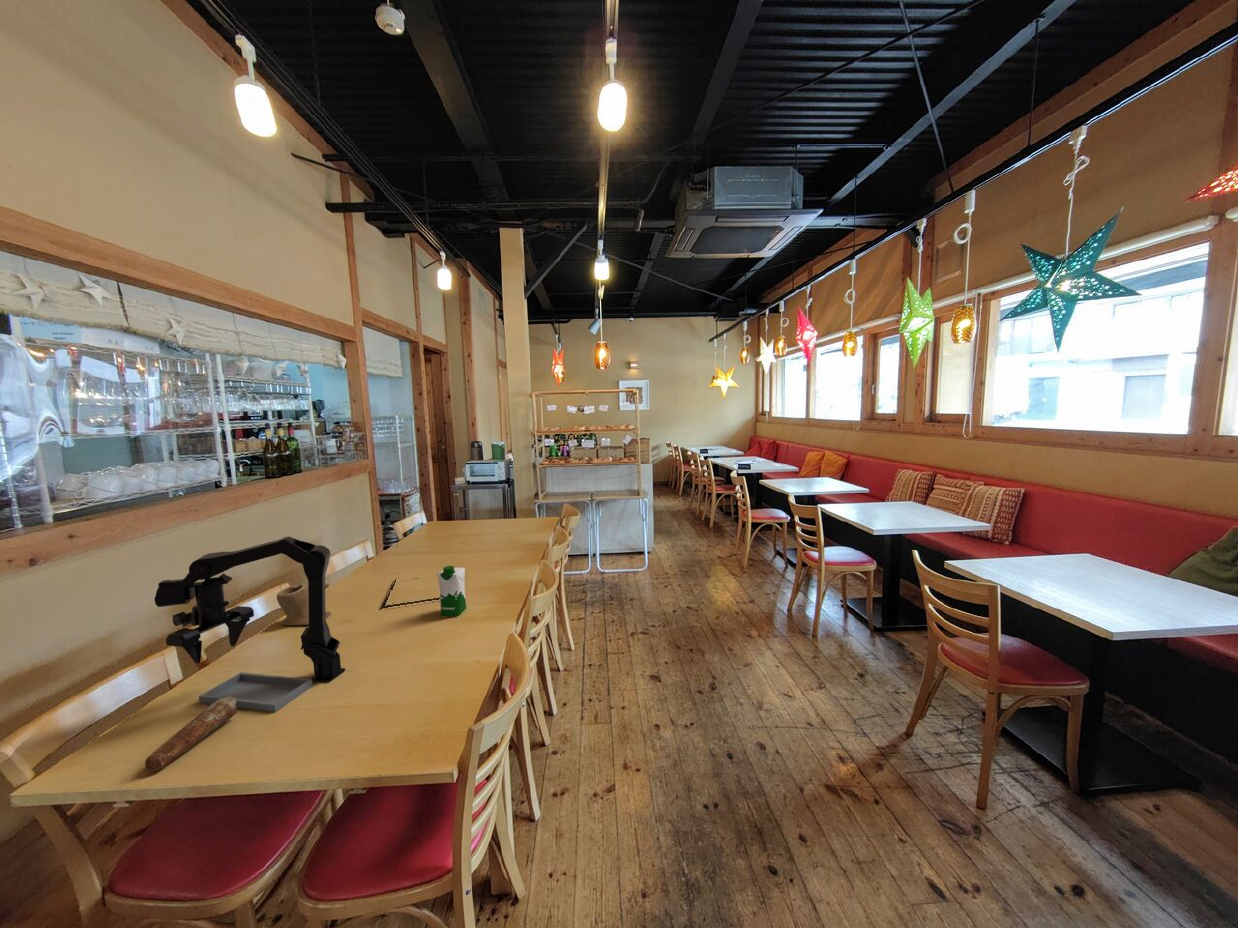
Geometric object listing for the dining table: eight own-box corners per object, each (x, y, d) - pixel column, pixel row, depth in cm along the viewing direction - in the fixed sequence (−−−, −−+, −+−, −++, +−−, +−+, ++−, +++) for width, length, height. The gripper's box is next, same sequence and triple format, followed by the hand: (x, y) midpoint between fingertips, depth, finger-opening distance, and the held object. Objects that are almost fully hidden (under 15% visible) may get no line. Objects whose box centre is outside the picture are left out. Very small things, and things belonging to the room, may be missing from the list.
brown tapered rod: (240, 716, 117) (241, 697, 116) (158, 777, 98) (159, 756, 97) (218, 710, 118) (219, 691, 117) (133, 770, 99) (133, 749, 98)
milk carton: (438, 619, 172) (434, 569, 170) (449, 609, 181) (446, 561, 179) (459, 620, 171) (456, 569, 169) (469, 609, 180) (466, 561, 178)
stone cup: (271, 629, 167) (267, 591, 165) (298, 615, 179) (294, 579, 177) (307, 631, 165) (303, 592, 163) (332, 617, 177) (329, 580, 175)
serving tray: (312, 687, 130) (311, 679, 130) (275, 713, 119) (274, 704, 119) (242, 679, 135) (241, 672, 134) (199, 704, 123) (198, 696, 123)
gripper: (221, 585, 133) (226, 635, 134) (145, 612, 115) (152, 670, 116) (253, 588, 131) (257, 639, 132) (180, 616, 113) (187, 674, 114)
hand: (215, 654), depth 124 cm, fingers open, 9 cm apart
